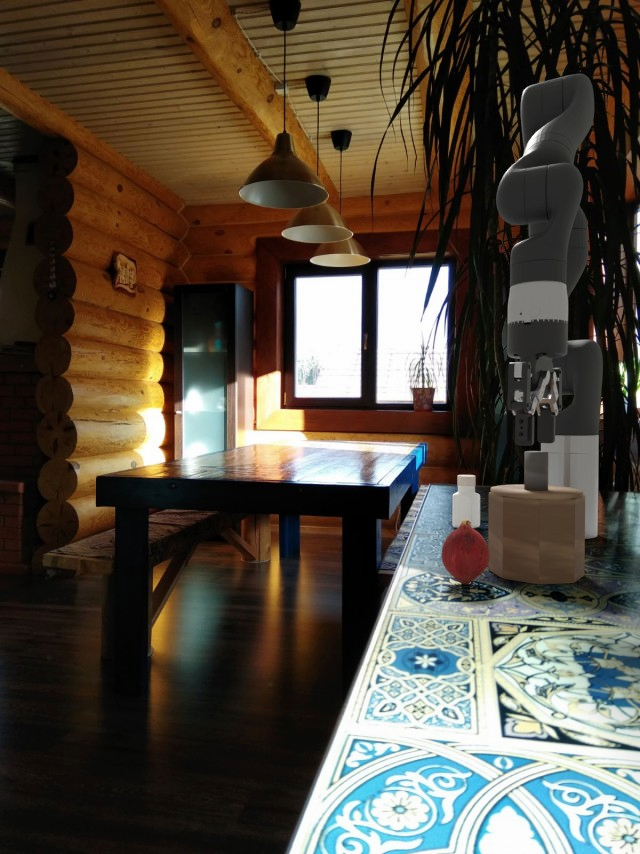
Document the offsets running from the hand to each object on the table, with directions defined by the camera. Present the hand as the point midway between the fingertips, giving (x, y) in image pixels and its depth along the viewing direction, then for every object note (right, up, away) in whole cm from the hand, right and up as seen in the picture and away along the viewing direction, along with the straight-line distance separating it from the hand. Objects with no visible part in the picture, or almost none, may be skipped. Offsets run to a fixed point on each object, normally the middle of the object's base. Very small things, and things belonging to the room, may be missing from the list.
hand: (535, 444), depth 85 cm
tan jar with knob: (0, -17, 0) cm, 17 cm away
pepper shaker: (-2, -16, +33) cm, 37 cm away
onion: (-10, -17, -5) cm, 21 cm away
